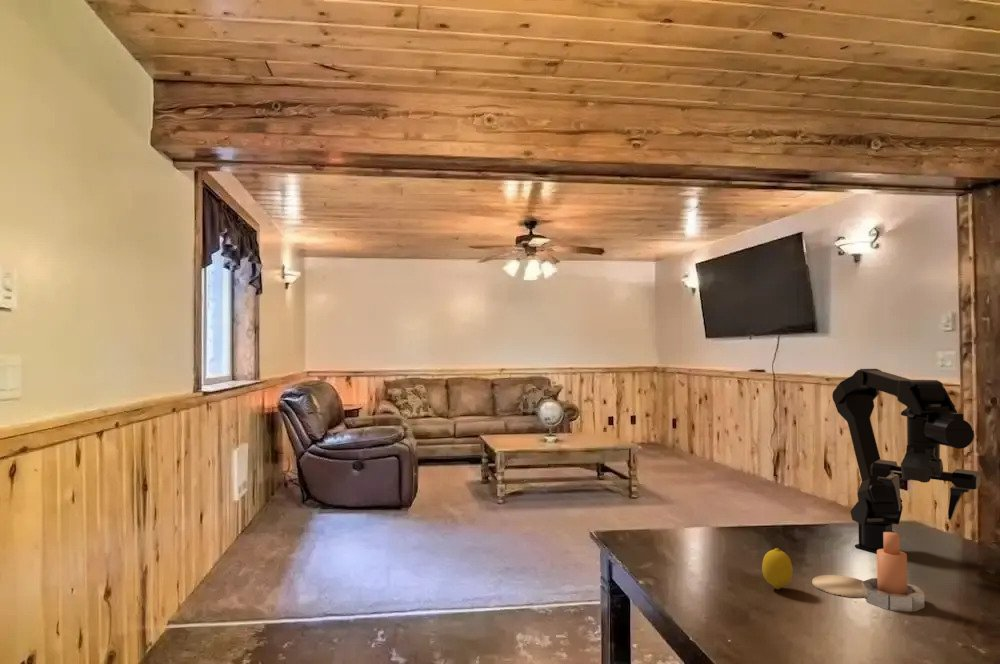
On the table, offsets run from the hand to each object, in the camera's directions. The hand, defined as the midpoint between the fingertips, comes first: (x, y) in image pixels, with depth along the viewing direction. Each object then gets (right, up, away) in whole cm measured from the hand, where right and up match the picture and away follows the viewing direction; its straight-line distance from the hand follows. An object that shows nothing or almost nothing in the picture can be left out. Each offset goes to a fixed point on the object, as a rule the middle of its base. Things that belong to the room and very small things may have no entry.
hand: (923, 514), depth 137 cm
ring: (-15, -12, -14) cm, 24 cm away
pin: (-15, -12, -14) cm, 24 cm away
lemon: (-34, -13, -8) cm, 37 cm away
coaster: (-21, -12, -7) cm, 25 cm away
